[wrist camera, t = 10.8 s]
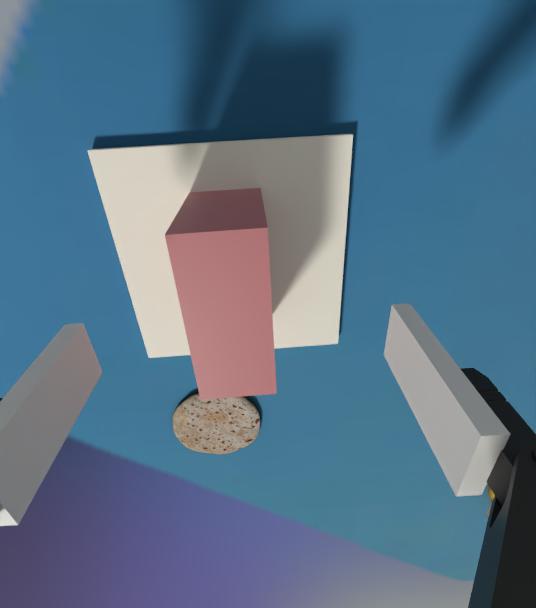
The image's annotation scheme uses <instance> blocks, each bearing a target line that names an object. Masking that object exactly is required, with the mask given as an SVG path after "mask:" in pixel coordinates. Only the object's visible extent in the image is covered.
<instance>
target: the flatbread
mask: <svg viewBox="0 0 536 608" xmlns="http://www.w3.org/2000/svg"><path fill="white" fill-rule="evenodd" d="M259 428H260V416H259V413H258V411H257V409H256V407H255V406H254V405H253V404H252V403H251V402H250V401H249V400H247V399H246V398H245V397H244V396H241V397H229V398H217V399H205V400H200V395H199V393H198V394H194V395H192V396H190V397H189V398H188V399H186V400H185V401H184V402H183V403H181V404H180V405H179V406H178V407H177V409H176V411H175V412H174V415H173V429H174V433H175V435H176V436H177V438H178V439H179V440H180V441H181V443H182V444H183V445H184V446H186V447H187V448H189V449H191V450H192V451H198V452H203V453H215V454H227V453H231V452H233V451H236V450H239V449H240V448H243V447H246V446H248V445H249V444H251V443H252V442H253V441H254V440H255V439H256V437H257V435H258V433H259Z"/></svg>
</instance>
